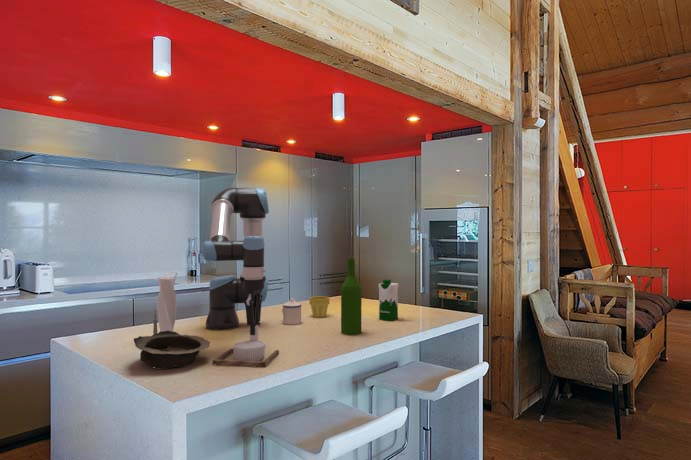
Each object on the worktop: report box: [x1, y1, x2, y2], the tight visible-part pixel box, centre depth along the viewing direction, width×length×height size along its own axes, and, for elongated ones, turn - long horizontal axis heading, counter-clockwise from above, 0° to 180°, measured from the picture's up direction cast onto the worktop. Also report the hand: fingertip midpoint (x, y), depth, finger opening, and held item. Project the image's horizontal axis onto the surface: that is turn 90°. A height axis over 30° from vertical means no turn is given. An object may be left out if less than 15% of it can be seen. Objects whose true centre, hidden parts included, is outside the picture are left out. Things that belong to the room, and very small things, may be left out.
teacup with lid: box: [281, 298, 302, 326], centre depth 217 cm, size 12×9×12 cm
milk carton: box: [378, 279, 399, 322], centre depth 224 cm, size 9×9×20 cm
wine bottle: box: [340, 257, 362, 336], centre depth 196 cm, size 9×9×32 cm
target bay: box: [212, 347, 280, 368], centre depth 156 cm, size 18×15×2 cm
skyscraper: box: [152, 271, 178, 335], centre depth 184 cm, size 8×8×28 cm
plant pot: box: [308, 295, 330, 318], centre depth 232 cm, size 10×10×10 cm
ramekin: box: [232, 340, 267, 361], centre depth 156 cm, size 11×11×5 cm
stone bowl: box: [133, 331, 211, 369], centre depth 153 cm, size 25×25×9 cm
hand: (253, 343), depth 163 cm, fingers closed
